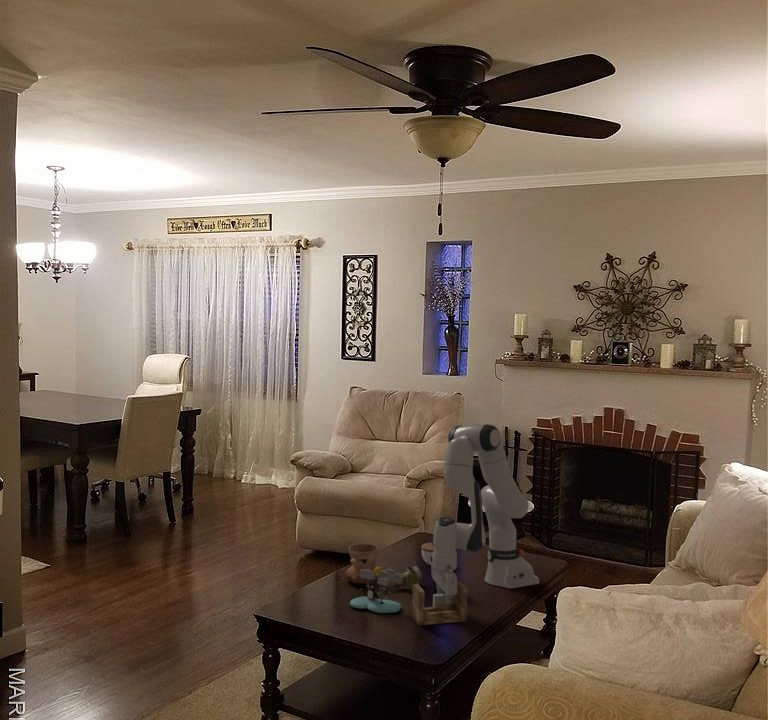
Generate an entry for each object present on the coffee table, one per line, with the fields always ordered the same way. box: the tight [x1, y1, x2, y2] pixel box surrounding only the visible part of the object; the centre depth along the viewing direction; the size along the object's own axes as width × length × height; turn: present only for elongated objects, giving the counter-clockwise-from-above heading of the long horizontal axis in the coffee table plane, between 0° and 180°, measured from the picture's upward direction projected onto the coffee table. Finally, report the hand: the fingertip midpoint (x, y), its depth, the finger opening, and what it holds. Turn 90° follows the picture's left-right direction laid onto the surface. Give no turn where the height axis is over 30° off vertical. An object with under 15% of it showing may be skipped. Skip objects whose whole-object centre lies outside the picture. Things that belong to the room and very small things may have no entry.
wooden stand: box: [411, 580, 468, 626], centre depth 277 cm, size 18×8×12 cm, turn 104°
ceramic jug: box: [345, 542, 381, 585], centre depth 316 cm, size 18×14×14 cm
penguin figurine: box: [349, 566, 402, 614], centre depth 286 cm, size 20×11×15 cm, turn 64°
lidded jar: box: [420, 542, 434, 566], centre depth 340 cm, size 11×11×9 cm
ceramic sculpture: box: [391, 565, 424, 592], centre depth 308 cm, size 11×9×15 cm
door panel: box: [432, 593, 454, 607], centre depth 283 cm, size 9×2×7 cm, turn 104°
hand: (443, 599), depth 283 cm, fingers open, 8 cm apart
